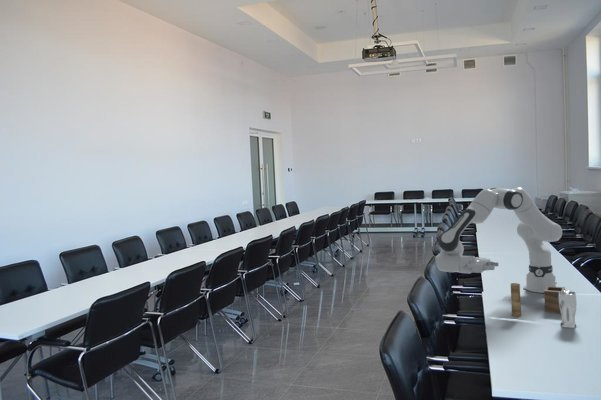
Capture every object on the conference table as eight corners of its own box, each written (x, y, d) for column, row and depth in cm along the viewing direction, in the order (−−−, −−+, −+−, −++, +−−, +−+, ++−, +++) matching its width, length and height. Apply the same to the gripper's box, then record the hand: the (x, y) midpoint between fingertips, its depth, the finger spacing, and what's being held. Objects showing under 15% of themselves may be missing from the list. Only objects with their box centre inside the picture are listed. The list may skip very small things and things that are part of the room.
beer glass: (575, 323, 219) (573, 290, 218) (579, 328, 212) (578, 294, 211) (557, 323, 221) (556, 290, 220) (561, 328, 214) (560, 294, 213)
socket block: (547, 305, 243) (546, 286, 242) (565, 307, 239) (565, 287, 238) (545, 311, 235) (544, 291, 234) (563, 313, 230) (563, 292, 230)
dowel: (512, 315, 235) (511, 282, 235) (521, 316, 233) (520, 283, 232) (511, 318, 232) (509, 284, 231) (520, 319, 230) (519, 285, 229)
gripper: (461, 262, 239) (491, 263, 231) (472, 255, 256) (500, 256, 248) (462, 274, 239) (491, 276, 232) (472, 267, 256) (500, 268, 249)
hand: (496, 266), depth 240 cm, fingers open, 8 cm apart
